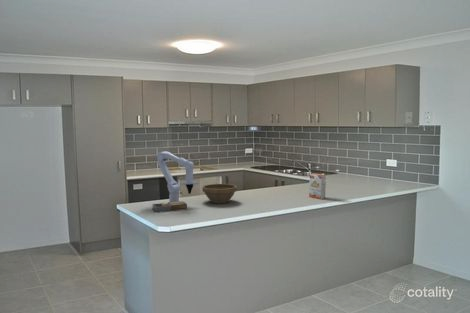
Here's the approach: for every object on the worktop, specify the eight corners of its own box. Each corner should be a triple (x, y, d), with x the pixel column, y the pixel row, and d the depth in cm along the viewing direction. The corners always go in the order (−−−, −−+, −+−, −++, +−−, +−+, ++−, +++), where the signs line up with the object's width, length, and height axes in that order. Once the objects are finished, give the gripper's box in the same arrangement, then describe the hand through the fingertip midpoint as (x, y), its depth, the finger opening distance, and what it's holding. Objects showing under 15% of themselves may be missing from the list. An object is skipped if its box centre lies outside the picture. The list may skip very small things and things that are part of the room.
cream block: (166, 207, 322) (163, 207, 321) (166, 202, 321) (162, 202, 320) (167, 208, 318) (164, 208, 317) (167, 203, 318) (164, 203, 317)
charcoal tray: (152, 208, 319) (152, 204, 318) (167, 207, 323) (167, 202, 323) (155, 211, 308) (155, 207, 307) (171, 210, 312) (171, 206, 312)
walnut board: (168, 207, 323) (168, 202, 323) (182, 206, 328) (182, 201, 327) (171, 210, 312) (171, 205, 312) (186, 209, 317) (186, 204, 316)
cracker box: (308, 196, 365) (309, 173, 363) (313, 196, 369) (313, 173, 367) (320, 199, 354) (321, 175, 352) (325, 198, 358) (326, 174, 356)
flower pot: (197, 200, 351) (197, 184, 349) (227, 197, 364) (227, 182, 362) (211, 206, 326) (210, 190, 324) (242, 203, 339) (242, 187, 337)
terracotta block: (162, 209, 313) (161, 209, 315) (167, 209, 315) (166, 208, 317) (162, 204, 312) (161, 204, 314) (167, 203, 314) (166, 203, 316)
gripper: (181, 178, 322) (182, 195, 323) (199, 177, 327) (199, 193, 329) (179, 176, 329) (179, 193, 330) (197, 175, 334) (197, 192, 335)
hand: (189, 193), depth 330 cm, fingers closed
